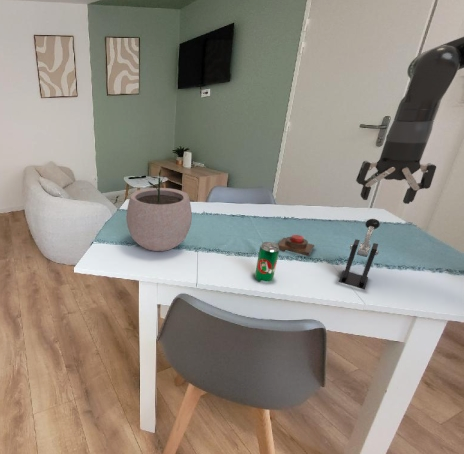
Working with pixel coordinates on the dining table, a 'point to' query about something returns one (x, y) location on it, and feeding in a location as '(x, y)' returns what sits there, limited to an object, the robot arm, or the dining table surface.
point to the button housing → (295, 246)
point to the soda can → (266, 261)
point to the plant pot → (159, 217)
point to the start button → (297, 238)
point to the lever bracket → (358, 279)
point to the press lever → (368, 237)
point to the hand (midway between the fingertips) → (384, 201)
